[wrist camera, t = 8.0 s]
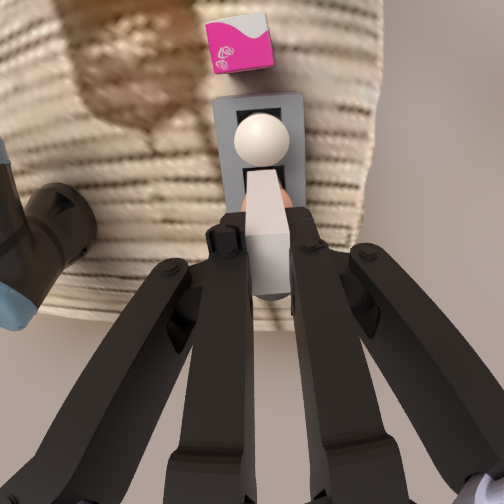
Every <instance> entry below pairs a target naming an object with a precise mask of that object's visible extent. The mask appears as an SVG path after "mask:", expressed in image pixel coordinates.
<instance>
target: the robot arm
mask: <svg viewBox="0 0 504 504" xmlns="http://www.w3.org/2000/svg"><path fill="white" fill-rule="evenodd" d="M205 235H206V240H207V245H208V250H209V258H208V259H207V260H205V261H203V262H201V263H198V264H194V265H191V266H188V263H187V261H185V260H184V259H181V258H170V259H166V260H164V261H162V262H160V263H158V264H157V265H156V266H155V267H154V269H153V270H152V271H151V273H150V274H149V275H148V277H147V278H146V279H145V281H144V282H143V283H142V285H141V286H140V288H139V289H138V290H137V292H136V293H135V294H134V296H133V297H132V299H131V300H130V301H129V303H128V304H127V306H126V307H125V309H124V310H123V311H122V313H121V314H120V316H119V317H118V319H117V320H116V321H115V323H114V324H113V326H112V327H111V329H110V330H109V332H108V333H107V335H106V336H105V338H104V339H103V341H102V342H101V344H100V345H99V347H98V348H97V350H96V352H95V353H94V354H93V356H92V358H91V359H90V361H89V362H88V364H87V366H86V367H85V369H84V370H83V372H82V373H81V375H80V377H79V378H78V380H77V381H76V383H75V385H74V386H73V388H72V390H71V391H70V393H69V395H68V396H67V398H66V400H65V402H64V403H63V405H62V407H61V408H60V410H59V412H58V413H57V415H56V417H55V419H54V421H53V422H52V424H51V426H50V428H49V430H48V431H47V433H46V435H45V437H44V439H43V441H42V443H41V445H40V447H39V449H38V450H37V452H36V454H35V456H34V457H33V458H32V459H30V460H29V461H28V462H27V463H26V464H25V465H24V466H23V467H22V468H21V469H20V470H19V471H18V472H17V473H16V474H15V475H14V476H12V477H11V478H10V479H9V480H8V481H7V482H6V483H5V484H4V485H3V486H2V487H1V488H0V504H120V503H121V502H122V500H123V498H124V496H125V494H126V492H127V490H128V488H129V486H130V484H131V481H132V479H133V477H134V474H135V472H136V470H137V468H138V465H139V463H140V461H141V458H142V456H143V454H144V451H145V449H146V447H147V445H148V442H149V440H150V438H151V435H152V433H153V431H154V429H155V427H156V424H157V422H158V420H159V417H160V415H161V413H162V411H163V408H164V407H165V404H166V402H167V400H168V398H169V396H170V393H171V391H172V389H173V386H174V384H175V382H176V380H177V378H178V376H179V373H180V371H181V369H182V367H183V365H184V363H185V360H186V358H187V356H188V354H189V351H190V349H191V347H192V345H193V349H192V356H191V362H190V368H189V375H188V382H187V389H186V396H185V403H184V411H183V418H182V427H181V435H180V442H179V446H178V448H177V450H175V451H174V452H173V453H172V454H171V456H170V458H169V460H168V465H167V470H166V478H165V487H164V497H163V504H257V487H256V477H255V420H254V337H253V336H254V335H253V334H254V332H253V299H252V295H264V294H278V293H290V292H291V316H293V319H294V326H295V334H296V341H297V349H298V357H299V365H300V373H301V382H302V391H303V400H304V408H305V418H306V428H307V438H308V448H309V459H310V493H311V494H310V495H311V502H308V503H306V504H416V503H415V502H414V501H412V500H410V499H409V496H408V491H407V485H406V479H405V474H404V469H403V464H402V459H401V455H400V451H399V448H398V445H397V442H396V441H395V439H394V438H393V437H392V436H390V435H388V434H387V433H386V431H385V429H384V426H383V422H382V419H381V414H380V410H379V406H378V402H377V398H376V394H375V390H374V387H373V383H372V379H371V375H370V372H369V368H368V365H367V361H366V358H365V355H364V351H363V348H362V344H361V341H360V339H361V340H362V342H363V343H364V344H365V346H366V348H367V349H368V351H369V353H370V354H371V356H372V358H373V359H374V361H375V363H376V364H377V366H378V367H379V369H380V371H381V372H382V374H383V376H384V377H385V379H386V381H387V382H388V384H389V386H390V387H391V389H392V391H393V392H394V394H395V396H396V397H397V399H398V401H399V402H400V404H401V406H402V408H403V409H404V411H405V413H406V414H407V416H408V418H409V420H410V421H411V423H412V425H413V427H414V428H415V430H416V432H417V434H418V435H419V437H420V439H421V441H422V443H423V445H424V446H425V448H426V450H427V452H428V454H429V456H430V457H431V459H432V461H433V463H434V465H435V467H436V468H437V470H438V472H439V473H440V475H441V477H442V478H443V479H444V481H445V482H446V483H447V484H448V485H449V487H450V488H451V489H452V490H453V491H454V492H455V493H456V494H457V495H458V496H457V498H456V499H455V500H454V502H453V503H452V504H504V390H503V389H502V387H501V386H500V384H499V383H498V381H497V380H496V379H495V377H494V376H493V374H492V373H491V372H490V370H489V369H488V368H487V366H486V365H485V364H484V362H483V361H482V360H481V358H480V357H479V356H478V355H477V353H476V352H475V351H474V349H473V348H472V347H471V346H470V345H469V343H468V342H467V341H466V339H465V338H464V337H463V336H462V335H461V333H460V332H459V331H458V330H457V328H455V326H454V325H453V324H452V322H451V321H450V320H449V319H448V318H447V317H446V315H445V314H444V313H443V312H442V311H441V310H440V309H439V308H438V306H437V305H436V304H435V303H434V302H433V301H432V300H431V299H430V298H429V296H428V295H427V294H426V293H425V292H424V291H423V290H422V289H421V288H420V286H418V284H417V283H416V282H415V281H414V280H413V279H412V278H411V277H410V276H409V275H408V274H407V273H406V272H405V271H404V270H403V269H402V268H401V267H400V265H399V264H398V263H397V262H396V261H395V260H394V259H393V258H391V256H390V255H389V254H388V253H387V252H386V251H385V250H383V249H382V248H381V247H379V246H377V245H375V244H372V243H359V244H356V245H354V246H353V247H352V248H351V250H350V253H344V252H338V251H334V250H331V249H329V247H328V245H327V243H326V242H325V241H324V240H322V239H320V236H319V234H318V231H317V228H316V226H315V223H314V220H313V218H312V215H311V212H310V211H309V210H308V209H306V208H305V207H304V206H303V207H287V208H284V204H283V200H282V196H281V191H280V187H279V183H278V178H277V174H276V170H275V169H274V170H260V171H248V172H247V195H246V211H245V212H233V213H226V214H225V215H224V216H223V217H222V218H221V220H220V224H218V225H215V226H213V227H211V228H210V229H208V230H207V232H206V234H205ZM95 239H96V222H95V218H94V215H93V213H92V211H91V209H90V207H89V205H88V204H87V202H86V201H85V199H84V198H83V197H82V196H81V195H80V194H79V193H78V192H77V191H75V190H74V189H73V188H71V187H69V186H67V185H64V184H61V183H49V184H46V185H44V186H42V187H41V188H40V189H39V190H37V191H36V192H35V193H34V194H33V195H32V196H31V198H30V199H29V201H28V203H27V205H26V207H25V209H24V210H23V207H22V204H21V201H20V198H19V195H18V191H17V188H16V184H15V181H14V177H13V173H12V169H11V161H10V160H9V158H8V155H7V151H6V147H5V144H4V141H3V139H2V138H1V137H0V327H2V328H4V329H7V330H10V331H20V330H22V329H24V328H25V327H26V326H27V324H28V323H29V321H30V320H31V319H32V317H33V316H34V315H36V313H37V310H38V309H39V307H40V305H41V304H42V302H43V300H44V299H45V297H46V296H47V294H48V292H49V291H50V289H51V288H52V286H53V285H54V283H55V282H56V280H57V279H58V277H59V276H60V274H61V273H62V271H63V270H64V269H66V268H67V267H69V266H71V265H72V264H74V263H76V262H77V261H79V260H81V259H82V258H83V257H84V256H86V254H87V253H88V252H89V250H90V249H91V248H92V246H93V244H94V242H95ZM359 337H360V338H359Z"/></svg>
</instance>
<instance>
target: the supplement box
mask: <svg viewBox="0 0 504 504" xmlns="http://www.w3.org/2000/svg"><path fill="white" fill-rule="evenodd" d="M205 26H206V32H207V37H208V42H209V47H210V53H211V58H212V63H213V68H214V73H215V74H230V73H236V72H243V71H250V70H257V69H265V68H270V67H272V66H274V63H275V62H274V55H273V49H272V43H271V37H270V32H269V27H268V21H267V16H266V13H265V12H262V13H253V14H247V15H240V16H235V17H229V18H224V19H219V20H214V21H210V22H205Z"/></svg>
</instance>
